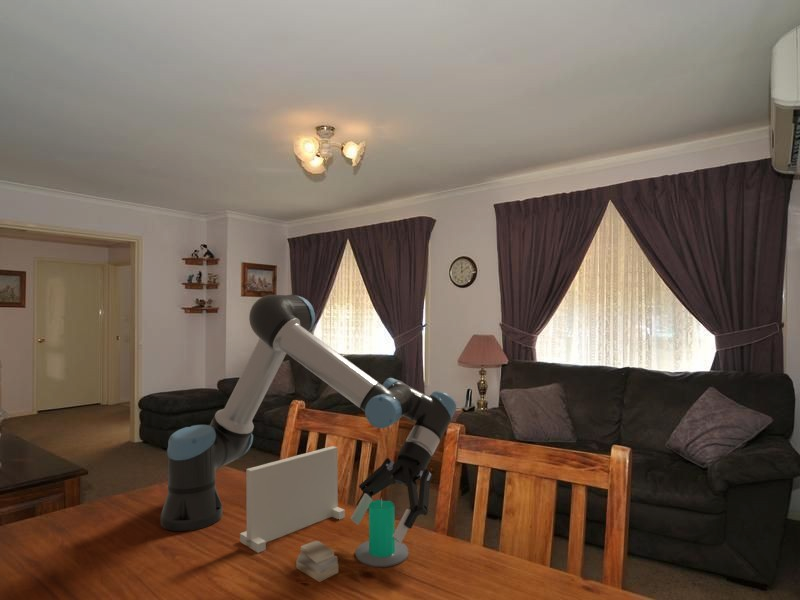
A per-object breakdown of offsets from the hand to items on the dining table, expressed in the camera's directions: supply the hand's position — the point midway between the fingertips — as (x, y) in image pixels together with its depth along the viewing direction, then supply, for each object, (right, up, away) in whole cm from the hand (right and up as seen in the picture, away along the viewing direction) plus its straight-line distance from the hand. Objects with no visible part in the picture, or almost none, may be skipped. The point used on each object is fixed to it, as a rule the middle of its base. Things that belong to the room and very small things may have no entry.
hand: (374, 530), depth 114 cm
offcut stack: (-12, -6, -5) cm, 14 cm away
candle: (+2, -6, +2) cm, 6 cm away
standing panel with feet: (-21, -6, +14) cm, 26 cm away
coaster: (+2, -6, +2) cm, 6 cm away
